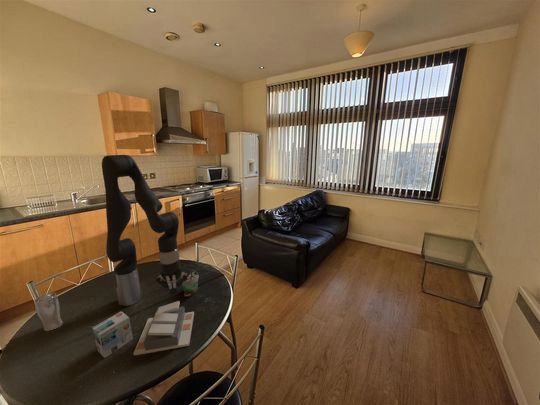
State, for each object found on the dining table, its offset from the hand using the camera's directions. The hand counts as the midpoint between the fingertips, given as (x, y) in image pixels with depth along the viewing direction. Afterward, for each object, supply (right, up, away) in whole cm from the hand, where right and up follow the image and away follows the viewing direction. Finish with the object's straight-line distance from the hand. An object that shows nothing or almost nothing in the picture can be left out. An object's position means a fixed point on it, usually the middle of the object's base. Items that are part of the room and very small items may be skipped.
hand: (174, 294), depth 97 cm
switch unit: (-2, -15, -3) cm, 15 cm away
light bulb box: (-20, -17, -9) cm, 27 cm away
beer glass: (-54, -14, 0) cm, 56 cm away
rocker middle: (-2, -9, -4) cm, 10 cm away
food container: (0, -9, +23) cm, 25 cm away
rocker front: (0, -10, -10) cm, 14 cm away
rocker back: (-3, -7, +1) cm, 8 cm away
